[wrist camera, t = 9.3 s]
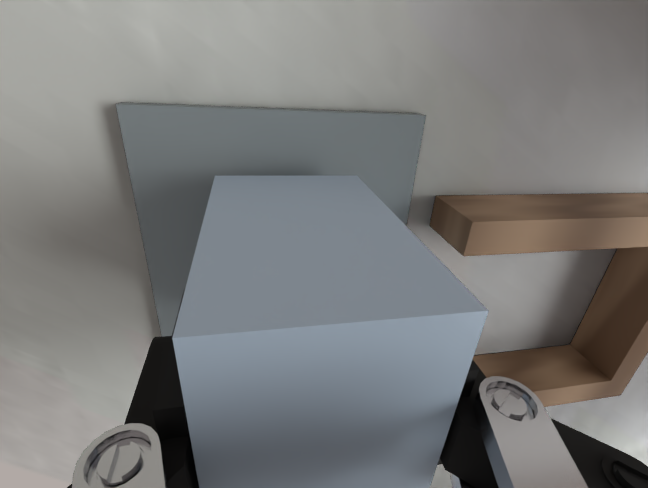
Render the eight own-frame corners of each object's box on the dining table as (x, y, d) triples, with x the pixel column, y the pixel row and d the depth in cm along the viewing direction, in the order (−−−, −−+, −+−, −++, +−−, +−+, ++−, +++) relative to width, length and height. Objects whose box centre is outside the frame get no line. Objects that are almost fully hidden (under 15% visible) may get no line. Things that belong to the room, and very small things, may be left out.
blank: (357, 175, 13) (488, 310, 6) (341, 325, 16) (416, 528, 9) (215, 175, 12) (172, 338, 5) (228, 335, 15) (214, 572, 8)
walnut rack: (667, 192, 19) (735, 214, 16) (580, 359, 24) (620, 395, 22) (435, 195, 16) (472, 222, 13) (396, 382, 22) (417, 426, 19)
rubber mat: (419, 113, 14) (426, 115, 14) (383, 326, 19) (386, 334, 19) (121, 102, 12) (115, 104, 11) (167, 346, 17) (165, 355, 16)
